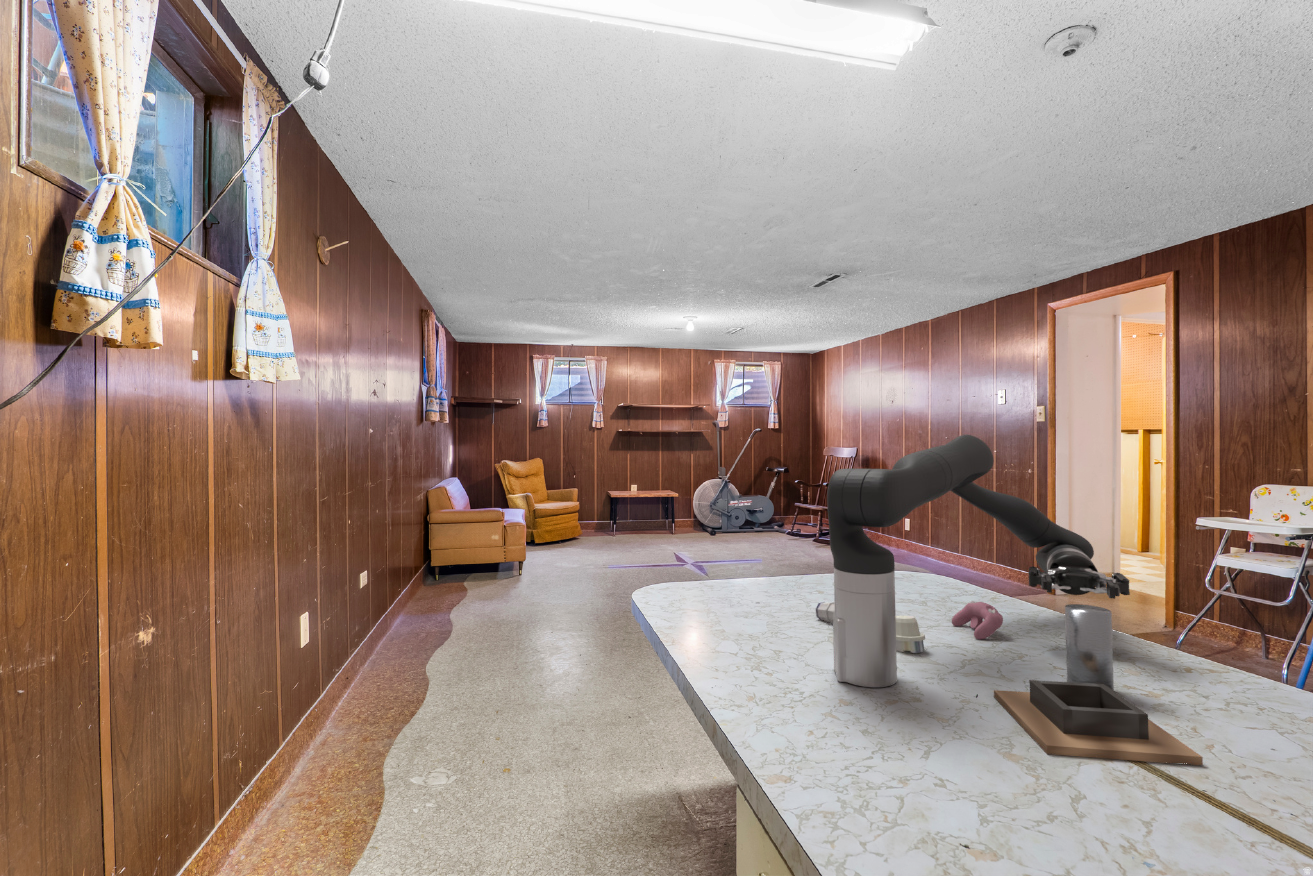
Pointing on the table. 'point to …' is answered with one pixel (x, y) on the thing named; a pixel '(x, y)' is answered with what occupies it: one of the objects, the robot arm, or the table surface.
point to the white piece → (905, 629)
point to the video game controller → (979, 619)
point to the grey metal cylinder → (1089, 644)
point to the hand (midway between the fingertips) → (1080, 589)
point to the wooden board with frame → (1091, 723)
